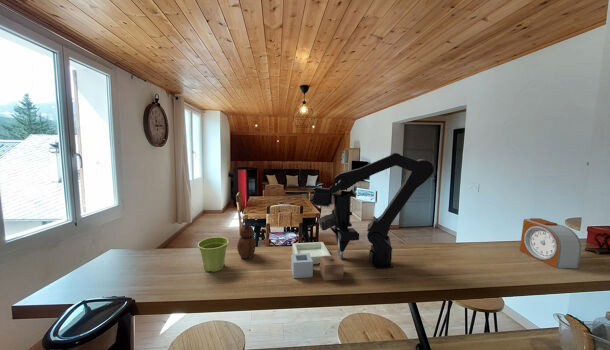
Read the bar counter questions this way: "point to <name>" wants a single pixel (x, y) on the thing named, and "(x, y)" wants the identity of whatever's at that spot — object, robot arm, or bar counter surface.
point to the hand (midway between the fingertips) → (340, 250)
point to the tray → (311, 250)
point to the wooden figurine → (246, 241)
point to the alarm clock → (550, 243)
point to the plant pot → (213, 253)
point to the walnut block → (331, 267)
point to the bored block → (301, 265)
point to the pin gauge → (340, 254)
